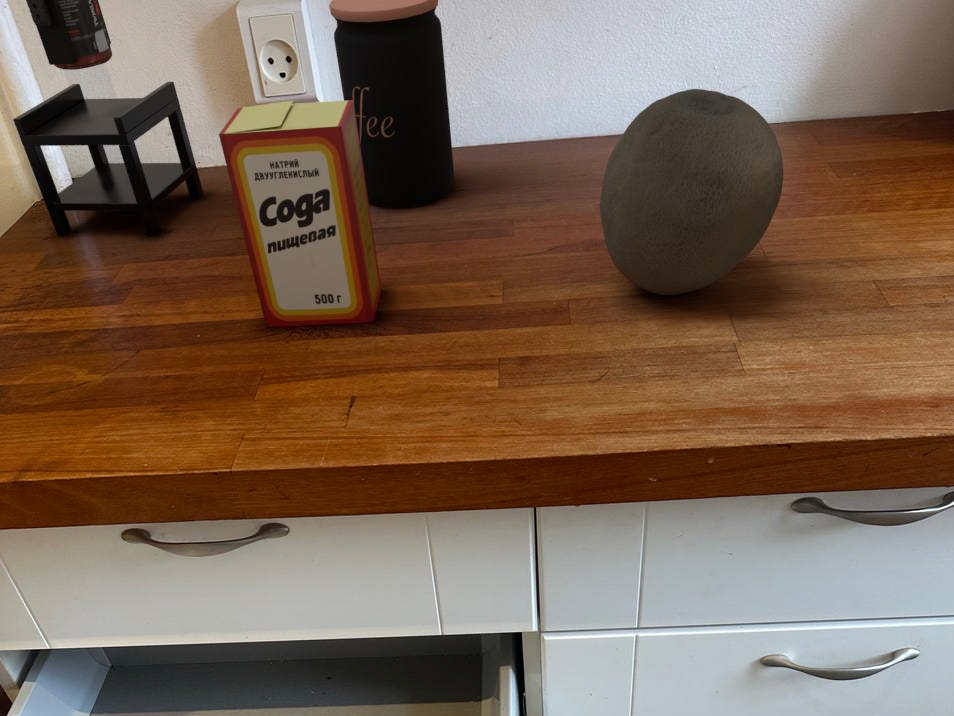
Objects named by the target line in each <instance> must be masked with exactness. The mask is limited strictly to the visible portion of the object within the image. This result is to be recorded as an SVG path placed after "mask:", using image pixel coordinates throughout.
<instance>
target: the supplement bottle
mask: <svg viewBox="0 0 954 716" xmlns="http://www.w3.org/2000/svg"><path fill="white" fill-rule="evenodd" d="M58 2H59V5H60V8H61V11H62V14H63V17H64V20H65V23H66V26H67V29H68V32H69V35H70V38H71V41H72V44H73V47H74V51H75V54H76V57H77V60H78V62H77V63H75V64H58V65H54V66H55V68H56V69H57V68H58V69H61V70H66V71H68V70H69V71H71V70H82V69H88V68H91V67H96V66H100V65H103V64H105V63H107V62H109V61H110V60H111V59H112V57H113V50H112V46H111V44H110V43H109V39H108V36H107V33H106V30H105V26H104V23H103V20H102V17H101V13H100V10H99V7H98V4H97V1H96V0H58Z"/></svg>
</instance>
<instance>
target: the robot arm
mask: <svg viewBox="0 0 954 716" xmlns="http://www.w3.org/2000/svg"><path fill="white" fill-rule="evenodd" d="M96 1H97V4H98V7H99V10H100V13H101V17H102V20H103V23H104V26H105V30H106V33H107V36H108V39H109V43H110V45H111V44H112V42H111V38H110V35H109V32H108V28H107V25H106V21H105V18H104V16H103V12H102V9H101V5H100V2H99V0H96ZM25 2H26V4H27V7H28V10H29V13H30V17H31V18H32V21H33V23H34V25H35V27H36V29H37V33H38V35H39V38H40V41H41V44H42V47H43V49H44V53H45V56H46V58H47V61H48V64H49V65H50V66H55V65H58V64H75V63H77V62H78V60H77V57H76V54H75V51H74V47H73V44H72V41H71V38H70V35H69V32H68V29H67V26H66V23H65V20H64V17H63V14H62V11H61V8H60V5H59V2H58V0H25Z"/></svg>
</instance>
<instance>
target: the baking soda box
mask: <svg viewBox="0 0 954 716" xmlns="http://www.w3.org/2000/svg"><path fill="white" fill-rule="evenodd" d="M293 102H294V100H293V99H292V100H286V101H280V102H279V101H278V102H272V103H266V104H258V105H252V106H244V107H238V108H237V109H236V110H235V111H234V113H233V114H232V115H231V117H230V118H229V120H228V121H227V123H225V125H224V126H223V128H222V129H221V131H220V132H219V133H218V138H219V140H220V145H221V148H222V149H221V150H222V154H223V157H224V161H225V166H226V169H227V173H228V178H229V181H230V186H231V189H232V194H233V198H234V202H235V207H236V210H237V214H238V217H239V218H238V219H239V223H240V227H241V230H242V233H243V234H242V235H243V238H244V243H245V247H246V250H247V256H248V258H249V259H248V260H249V263H250V267H251V271H252V274H253V279H254V283H255V288H256V291H257V296H258V299H259V303H260V308H261V311H262V315H263V319H264V323H265V328H282V327H299V326H300V327H302V326H319V325H321V326H322V325H323V326H324V325H339V324H340V325H341V324H361V323H362V324H363V323H374V320H375V316H376V312H377V309H378V305H379V301H380V296H381V293H382V289H383V288H382V282H381V277H380V276H381V275H380V269H379V263H378V256H377V249H376V242H375V237H374V236H375V235H374V228H373V222H372V216H371V209H370V202H369V201H368V195H367V189H366V182H365V176H364V169H363V162H362V156H361V149H360V142H359V136H358V129H357V123H356V116H355V109H354V103H353V100H347V101H344V100H335V101H334V100H333V101H332V100H331V101H316V102H298V103H293Z"/></svg>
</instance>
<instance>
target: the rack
mask: <svg viewBox="0 0 954 716" xmlns="http://www.w3.org/2000/svg"><path fill="white" fill-rule="evenodd" d="M166 118H167V119H168V123H169V127H170V130H171V134H172V137H173V141H174V145H175V148H176V151H177V155H178V158H179V162H141V158H140V155H139V152H138V149H137V144H136V142H135V141H136V140H138V139H139V138H141V137H142V136H143V135H144V134H146V133H147V132H149V131H151V130H152V129H153V128H154V127H156V126H157V125H158V124H160V123H161V122H163V121H164V120H165V119H166ZM12 121H13V123H14V126H15V128H16V131H17V133H18V137H19V139H20V142H21V145H22V147H23V150H24V152H25V155H26V158H27V159H28V163H29V165H30V169H31V170H32V173H33V175H34V179H35V181H36V183H37V186H38V189H39V192H40V194H41V196H42V199H43V201H44V204H45V207H46V209H47V212H48V214H49V217H50V220H51V222H52V225H53V228H54V231H55V233H56V235H57V236H68V235H69V234H71V233H72V231H73V230H72V227H71V225H70V222H69V218H68V216H67V214H66V212H67V211H69V212H71V211H73V212H139V215H140V217H141V221H142V224H143V227H144V230H145V232H146V236H147V237H158V236H160V235H161V234H162V233H163V231H162V227H161V224H160V221H159V218H158V214H157V210H156V206H158V204H160V203H161V202H162V201H163V200H164V199H166V198H167V197H168V196H170V194H171V193H173V192H174V191H175V190H176V189H177V188H178V187H180V186H181V185H182V184H183V183H184V182H185V184H186V188H187V191H188V195H189V198H190V199H200V198H201V197H202V196H203V195H205V194H204V190H203V185H202V182H201V179H200V175H199V171H198V167H197V164H196V160H195V156H194V152H193V149H192V144H191V141H190V138H189V134H188V131H187V126H186V123H185V119H184V115H183V112H182V108H181V104H180V99H179V97H178V93H177V89H176V86H175V82H174V81H166V82H165V83H163V84H162V85H160V86H159V87H158V88H156V89H154V90H153V91H151V92H150V93H148V94H147V95H145V96H144V97H127V98H126V97H122V98H121V97H119V98H118V97H117V98H85V96H84V94H83V91H82V87H81V84H80V83H73V84H71V85H69V86H68V87H66V88H64V89H62V90H60V91H59V92H57V93H55V94H54V95H52V96H50V97H49V98H47V99H45V100H44V101H42V102H40V103H38V104H37V105H35V106H33V107H32V108H30V109H28V110H27V111H25V112H23V113H21V114H20V115H18V116H16V117H14V118H13V119H12ZM47 146H48V147H49V146H50V147H51V146H52V147H54V146H55V147H56V146H57V147H58V146H61V147H62V146H63V147H64V146H87V148H88V150H89V153H90V157H91V159H92V162H93V165H94V167H93V168H92V169H90V170H88V171H87V172H86V173H85V174H83V175H81V176H80V177H79V178H77V179H76V180H75V181H73V182H72V183H70V184H69V185H67V186H66V187H65V188H64V189H63V190H61V191H59V192H58V189H57V187H56V184H55V182H54V181H55V180H54V179H53V176H52V173H51V170H50V168H49V165H48V162H47V160H46V157H45V155H44V151H43V149H42V147H47ZM104 146H118V148H119V151H120V154H121V157H122V161H123V162H109V159H108V156H107V153H106V150H105V147H104Z"/></svg>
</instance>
